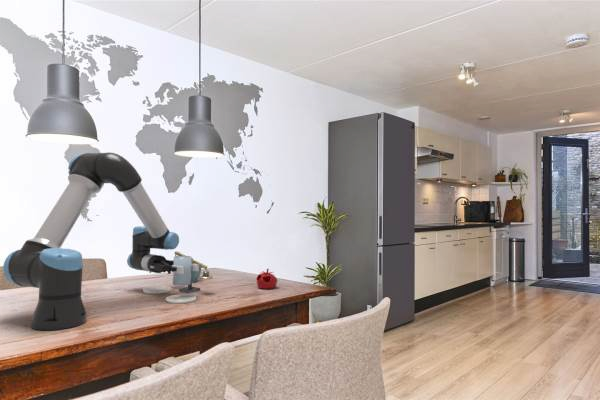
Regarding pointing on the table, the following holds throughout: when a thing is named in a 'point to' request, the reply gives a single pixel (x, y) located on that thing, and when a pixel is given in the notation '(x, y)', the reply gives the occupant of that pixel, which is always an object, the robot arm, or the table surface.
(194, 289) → the balance
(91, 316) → the table surface
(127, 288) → the table surface
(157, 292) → the dish high
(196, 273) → the flower pot
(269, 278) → the pomegranate
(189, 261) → the cup
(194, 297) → the dish low
